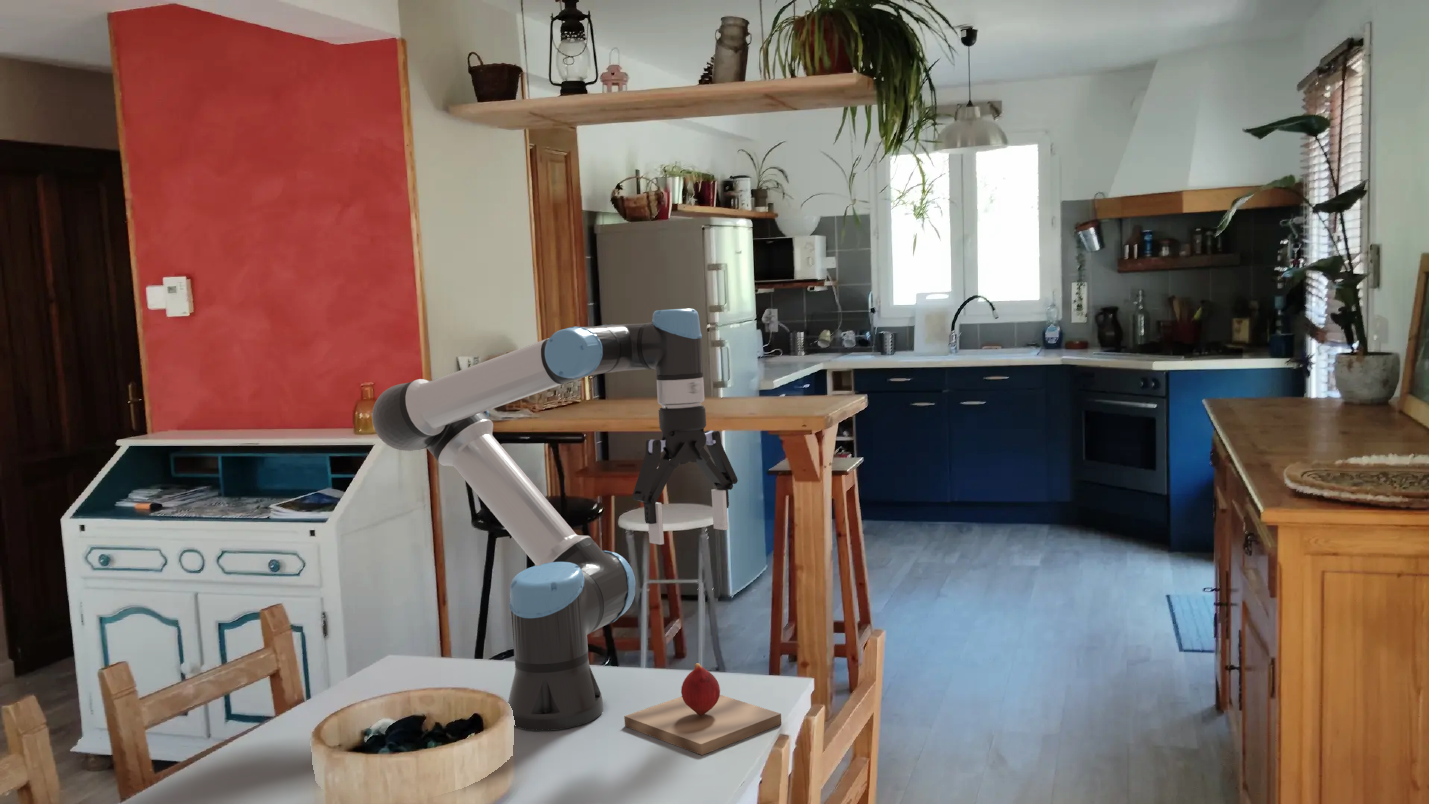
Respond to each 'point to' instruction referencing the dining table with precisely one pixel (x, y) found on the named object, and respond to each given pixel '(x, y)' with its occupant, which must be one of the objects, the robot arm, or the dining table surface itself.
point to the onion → (700, 690)
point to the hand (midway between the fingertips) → (689, 536)
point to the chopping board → (702, 723)
